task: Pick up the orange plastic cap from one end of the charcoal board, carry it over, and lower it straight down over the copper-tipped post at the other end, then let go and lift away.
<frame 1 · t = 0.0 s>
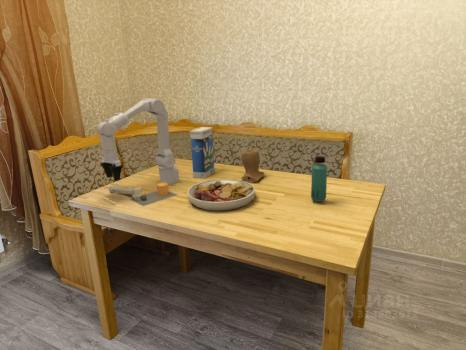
hand: (113, 178, 151), 10 cm above the table, tool pointing down, fingers open, 7 cm apart
bowl: (221, 200, 150), on the table
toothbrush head: (127, 197, 158), on the table, touching charcoal board
beverage bottle: (318, 202, 144), on the table
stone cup: (251, 178, 178), on the table
orange cap: (163, 194, 157), point 1 cm above the table, touching charcoal board
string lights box: (204, 175, 187), on the table
charcoal board: (154, 199, 153), on the table
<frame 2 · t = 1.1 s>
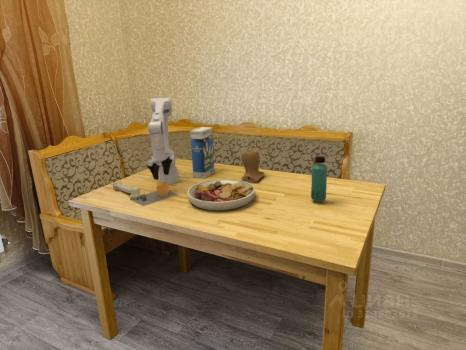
hand: (161, 176, 154), 9 cm above the table, tool pointing down, fingers open, 7 cm apart
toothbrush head: (128, 195, 161), on the table, touching charcoal board
everything else where it was.
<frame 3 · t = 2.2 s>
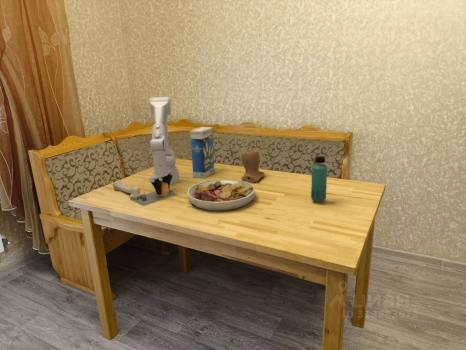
hand: (163, 192, 156), 2 cm above the table, tool pointing down, fingers closed on orange cap, 5 cm apart
orange cap: (163, 194, 157), point 1 cm above the table, touching charcoal board, gripper
everything else where it was.
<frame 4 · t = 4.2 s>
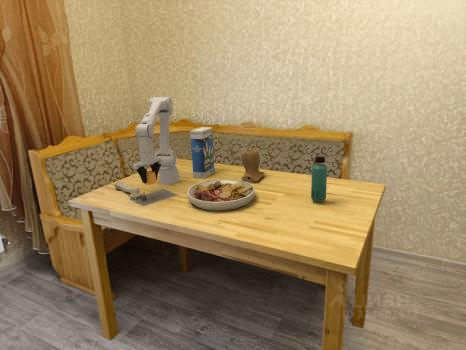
hand: (150, 181, 150), 9 cm above the table, tool pointing down, fingers closed on orange cap, 5 cm apart
orange cap: (150, 182, 150), point 8 cm above the table, touching gripper
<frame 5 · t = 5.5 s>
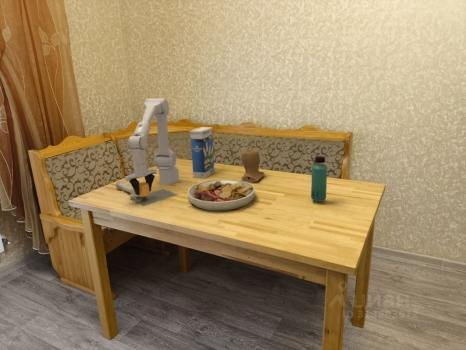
hand: (143, 192, 149), 5 cm above the table, tool pointing down, fingers closed on orange cap, 5 cm apart
orange cap: (143, 194, 149), point 4 cm above the table, touching gripper
when the fingers open (2 cm above the table, at t = 6.4 s): orange cap stays where it is, resting on charcoal board.
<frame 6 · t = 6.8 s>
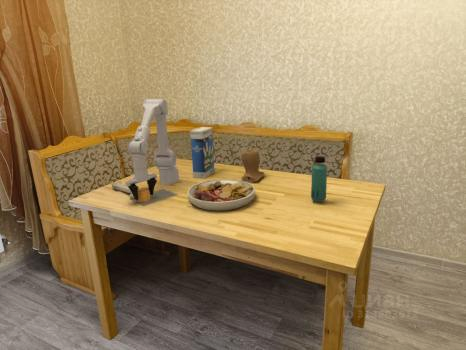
hand: (144, 197, 149), 2 cm above the table, tool pointing down, fingers open, 7 cm apart
orange cap: (144, 200, 150), point 1 cm above the table, touching charcoal board
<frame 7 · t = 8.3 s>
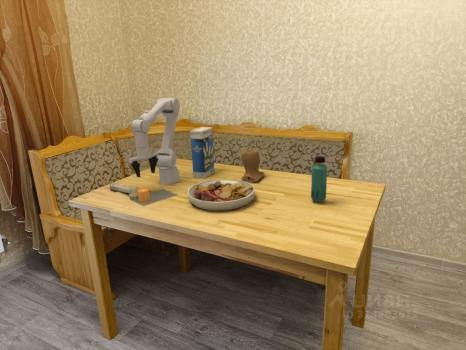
hand: (145, 174, 155), 10 cm above the table, tool pointing down, fingers open, 7 cm apart
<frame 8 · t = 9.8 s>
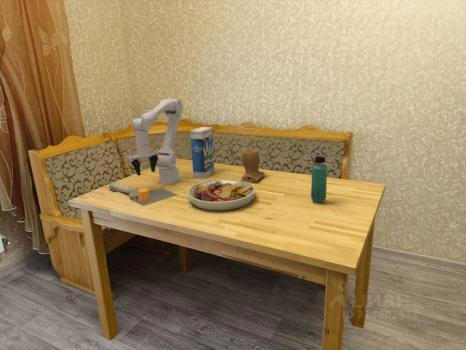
hand: (146, 173, 157), 10 cm above the table, tool pointing down, fingers open, 7 cm apart
at the end: orange cap 0.0 cm from the target spot on the charcoal board, point 1.0 cm above the charcoal board's base; orange cap tilted 0°; the gripper is holding nothing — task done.
